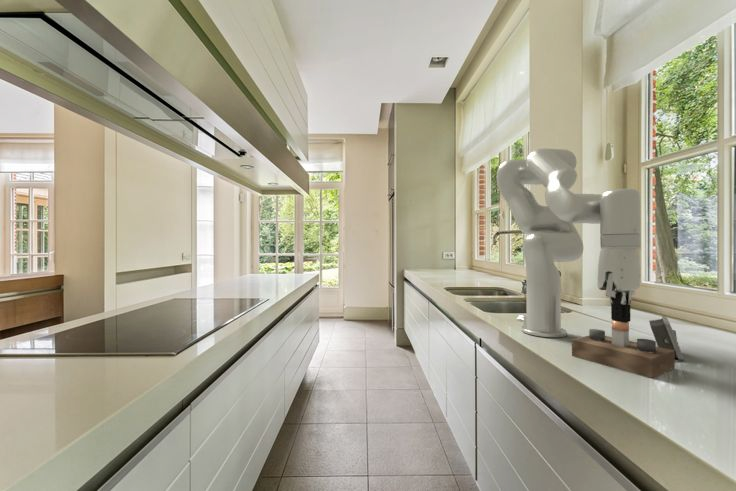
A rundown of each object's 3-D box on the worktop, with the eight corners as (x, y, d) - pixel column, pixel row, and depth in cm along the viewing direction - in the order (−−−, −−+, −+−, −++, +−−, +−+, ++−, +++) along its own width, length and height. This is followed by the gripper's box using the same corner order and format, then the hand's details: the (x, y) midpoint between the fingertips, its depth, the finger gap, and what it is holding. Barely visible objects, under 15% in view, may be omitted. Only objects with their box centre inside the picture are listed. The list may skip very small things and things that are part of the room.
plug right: (634, 365, 74) (634, 339, 74) (641, 363, 75) (640, 337, 75) (651, 370, 71) (651, 343, 71) (658, 367, 73) (658, 341, 73)
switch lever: (586, 353, 83) (586, 330, 83) (593, 351, 84) (593, 328, 84) (600, 357, 80) (600, 333, 80) (607, 354, 81) (607, 331, 81)
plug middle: (609, 345, 78) (608, 320, 78) (616, 343, 80) (615, 319, 80) (624, 348, 75) (624, 323, 75) (631, 346, 77) (631, 321, 77)
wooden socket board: (571, 355, 82) (571, 339, 82) (596, 348, 87) (596, 333, 87) (651, 378, 68) (651, 358, 68) (674, 368, 73) (674, 350, 73)
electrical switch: (684, 362, 77) (678, 322, 78) (655, 359, 81) (649, 321, 81) (679, 352, 85) (674, 315, 85) (653, 350, 88) (648, 315, 89)
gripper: (618, 242, 85) (618, 314, 84) (585, 242, 77) (585, 321, 77) (654, 242, 78) (655, 320, 78) (622, 242, 71) (623, 328, 71)
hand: (620, 320), depth 77 cm, fingers closed
